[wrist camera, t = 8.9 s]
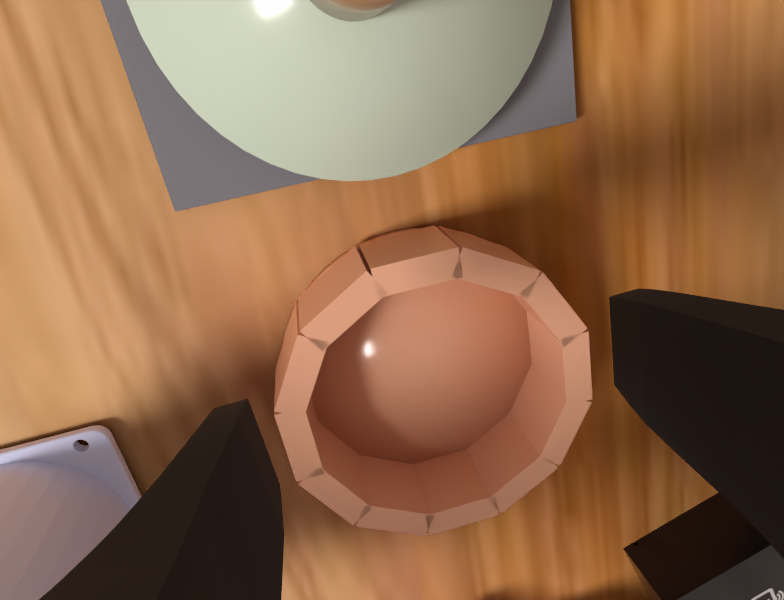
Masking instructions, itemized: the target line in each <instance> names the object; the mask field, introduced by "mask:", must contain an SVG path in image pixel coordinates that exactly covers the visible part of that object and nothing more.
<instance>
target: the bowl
mask: <svg viewBox="0 0 784 600" xmlns="http://www.w3.org/2000/svg"><path fill="white" fill-rule="evenodd" d="M586 329H587V327H586V326H585V324H584V323H583V322H582V321H581V319H580V318H579V317H578V316H577V314H576V313H575V312H574V311H573V309H572V308H571V307H570V305H569V304H568V303H567V302H566V300H565V299H564V298H563V297H562V295H561V294H560V293H559V292H558V290H557V289H556V288H555V287H554V285H553V284H552V283H551V281H550V280H549V279H548V278H547V276H546V275H545V274H544V273H543V272H542V271H540V270H539V269H538V268H536V267H535V266H533V265H532V264H530V263H529V262H527V261H526V260H525V259H523V258H522V257H520V256H519V255H517V254H516V253H515V252H513V251H512V250H510V249H509V248H507V247H506V246H503V245H500V244H496V243H493V242H490V241H487V240H485V239H483V238H480V237H478V236H475V235H472V234H470V233H467V232H462V231H458V230H454V229H448V228H445V227H441V226H438V227H435V226H434V225H433V226H429V227H419V228H409V229H403V230H397V231H392V232H389V233H386V234H383V235H379V236H376V237H374V238H371V239H369V240H367V241H365V242H362V243H358V245H356V246H354V247H353V248H351V249H350V250H348V251H347V252H345V253H343V254H342V255H340V256H339V257H338V258H336V259H335V260H334V261H333V262H331V263H330V264H329V265H328V266H326V267H325V268H324V269H323V270H322V271H321V272H320V273H319V275H318V276H317V277H316V278H315V279H314V280H313V281H312V282H311V283H310V285H309V286H308V287H307V289H306V290H305V291H304V292H303V293H302V294H301V295H300V296H299V297H298V301H296V302H295V305H294V308H293V312H292V314H291V317H290V319H289V322H288V325H287V327H286V330H285V335H284V339H283V344H282V349H281V352H280V356H279V359H278V362H277V366H276V374H275V401H274V416H275V419H276V422H277V425H278V428H279V431H280V434H281V437H282V440H283V444H284V447H285V450H286V453H287V456H288V459H289V462H290V465H291V468H292V471H293V474H294V477H295V480H296V482H298V485H299V486H301V487H302V488H303V489H305V490H306V491H307V492H309V493H310V494H311V495H313V496H314V497H315V498H317V499H318V500H319V501H321V502H322V503H323V504H325V505H326V506H327V507H329V508H330V509H331V510H333V511H334V512H335V513H337V514H338V515H339V516H341V517H342V518H343V519H345V520H346V521H347V522H349V523H350V524H351V525H354V524H356V527H361V528H369V529H376V530H384V531H391V532H399V533H406V534H414V535H421V536H426V534H427V532H428V533H429V536H430V535H434V534H437V533H441V532H444V531H447V530H451V529H454V528H457V527H461V526H464V525H468V524H471V523H474V522H478V521H481V520H484V519H488V518H491V517H495V516H498V515H499V513H498V510H499V511H500V512H501V513H503V512H505V511H506V510H507V509H508V508H510V507H511V506H512V505H513V504H514V503H516V502H517V501H518V500H519V499H521V498H522V497H523V496H524V495H526V494H527V493H528V492H529V491H530V490H532V489H533V488H534V487H535V486H537V485H538V484H539V483H540V482H542V481H543V480H544V479H545V478H546V477H548V476H549V475H550V474H551V473H553V472H554V471H555V470H556V469H558V467H557V466H556V464H557V465H561V463H562V461H563V459H564V457H565V455H566V453H567V451H568V449H569V447H570V445H571V443H572V441H573V439H574V437H575V435H576V433H577V431H578V429H579V427H580V425H581V423H582V421H583V419H584V417H585V415H586V413H587V411H588V409H589V407H590V405H591V403H592V402H591V401H590V400H591V399H592V381H591V363H590V346H589V331H588V330H586Z"/></svg>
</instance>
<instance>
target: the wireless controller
mask: <svg viewBox="0 0 784 600" xmlns="http://www.w3.org/2000/svg"><path fill="white" fill-rule="evenodd" d="M635 542H636V544H638V545H635V543H632V544H630V545H628V546H627V547H625V548H623V549H624V551H625V553H626V555H627V556H628V558H629V560H630V562H631V564H632V566H633V567H634V569H635V571H636V573H637V575H638V577H639V579H640V580H641V582H642V584H643V586H644V588H645V590H646V591H647V593H648V595H649V597H650V599H651V600H784V559H783V558H782V557H781V556H780V554H779V553H778V552H777V551H776V550H775V549H774V548H773V547H772V545H771V544H770V543H769V542H768V541H767V540H766V539H765V538H764V537H763V535H762V534H761V533H760V532H759V531H758V530H757V529H756V528H755V527H754V526H753V525H752V524H751V523H750V522H749V521H748V520H747V519H746V518H745V517H744V516H743V515H742V514H741V513H740V512H739V511H738V510H737V509H736V508H735V507H734V506H733V505H732V504H731V503H730V502H729V501H728V500H727V499H726V498H725V497H724V496H722V495H721V494H720V493H717V494H716V495H714V496H712V497H710V498H709V499H707V500H705V501H704V502H702V503H700V504H698V505H697V506H695V507H693V508H692V509H690V510H688V511H687V512H685V513H683V514H681V515H680V516H678V517H676V518H675V519H673V520H671V521H669V522H668V523H666V524H664V525H663V526H661V527H659V528H657V529H656V530H654V531H652V532H651V533H649V534H647V535H646V536H644V537H642V538H640V539H639V540H637V541H635Z"/></svg>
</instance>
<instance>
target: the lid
mask: <svg viewBox="0 0 784 600" xmlns="http://www.w3.org/2000/svg"><path fill="white" fill-rule="evenodd" d="M126 1H127V4H128V6H129V8H130V11H131V13H132V15H133V18H134V20H135V23H136V25H137V27H138V30H139V32H140V34H141V36H142V38H143V40H144V42H145V43H146V45H147V47H148V49H149V51H150V52H151V54H152V56H153V58H154V60H155V61H156V63H157V65H158V66H159V68H160V69H161V70H162V72H163V73H164V75H165V76H166V77H167V79H168V80H169V81H170V83H171V84H172V86H173V87H174V88H175V90H176V91H177V92H178V93H179V94H180V96H181V97H182V98H183V99H184V100H185V101H186V102H187V103H188V104H189V105H190V107H191V108H192V109H193V110H194V111H195V112H196V113H197V114H198V115H199V116H200V117H201V118H202V119H203V120H205V121H206V122H207V123H208V124H209V125H210V126H211V127H213V128H214V129H215V130H216V131H217V132H218V133H220V134H221V135H222V136H224V137H225V138H227V139H228V140H230V141H231V142H232V143H234V144H235V145H237V146H238V147H240V148H241V149H243V150H244V151H246V152H248V153H250V154H252V155H254V156H256V157H258V158H260V159H262V160H264V161H265V162H267V163H269V164H272V165H275V166H277V167H280V168H283V169H286V170H288V171H291V172H294V173H297V174H302V175H306V176H311V177H315V178H320V179H329V180H340V181H360V180H375V179H380V178H386V177H391V176H397V175H400V174H403V173H406V172H409V171H412V170H415V169H419V168H421V167H423V166H425V165H428V164H430V163H432V162H434V161H436V160H438V159H440V158H442V157H444V156H446V155H447V154H449V153H450V152H452V151H453V150H455V149H456V148H458V147H460V146H461V145H463V144H464V143H465V142H467V141H468V140H469V139H470V138H471V137H473V136H474V135H475V134H476V133H477V132H478V131H480V130H481V129H482V128H483V127H484V126H485V125H486V124H487V123H488V122H489V121H490V120H491V119H492V118H493V117H494V116H495V114H496V113H497V112H498V111H499V110H500V109H501V108H502V107H503V105H504V104H505V103H506V101H507V100H508V99H509V97H510V96H511V94H512V93H513V92H514V90H515V89H516V88H517V86H518V85H519V83H520V81H521V79H522V77H523V76H524V74H525V72H526V70H527V69H528V67H529V65H530V63H531V62H532V59H533V57H534V55H535V52H536V50H537V47H538V45H539V43H540V40H541V38H542V36H543V33H544V29H545V26H546V23H547V19H548V16H549V13H550V10H551V6H552V1H553V0H126Z"/></svg>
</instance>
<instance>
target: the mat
mask: <svg viewBox="0 0 784 600" xmlns="http://www.w3.org/2000/svg"><path fill="white" fill-rule="evenodd" d="M101 3H102V6H103V9H104V11H105V14H106V17H107V20H108V23H109V26H110V28H111V31H112V34H113V37H114V40H115V42H116V45H117V48H118V51H119V54H120V57H121V59H122V62H123V65H124V68H125V71H126V74H127V76H128V79H129V82H130V85H131V88H132V91H133V93H134V96H135V99H136V102H137V105H138V108H139V110H140V113H141V116H142V119H143V122H144V125H145V127H146V130H147V133H148V136H149V139H150V142H151V144H152V147H153V150H154V153H155V156H156V158H157V161H158V164H159V167H160V170H161V173H162V175H163V178H164V181H165V184H166V187H167V190H168V192H169V195H170V198H171V201H172V204H173V207H174V209H175V211H180V210H184V209H189V208H193V207H198V206H202V205H207V204H211V203H215V202H220V201H224V200H229V199H233V198H238V197H242V196H246V195H251V194H255V193H260V192H264V191H269V190H273V189H277V188H282V187H286V186H291V185H295V184H300V183H304V182H309V181H313V180H317V179H320V178H315V177H311V176H306V175H302V174H297V173H294V172H291V171H288V170H286V169H283V168H280V167H277V166H275V165H272V164H269V163H267V162H265V161H264V160H262V159H260V158H258V157H256V156H254V155H252V154H250V153H248V152H246V151H244V150H243V149H241V148H240V147H238V146H237V145H235V144H234V143H232V142H231V141H230V140H228V139H227V138H225V137H224V136H222V135H221V134H220V133H218V132H217V131H216V130H215V129H214V128H213V127H211V126H210V125H209V124H208V123H207V122H206V121H205V120H203V119H202V118H201V117H200V116H199V115H198V114H197V113H196V112H195V111H194V110H193V109H192V108H191V107H190V105H189V104H188V103H187V102H186V101H185V100H184V99H183V98H182V97H181V96H180V94H179V93H178V92H177V91H176V90H175V88H174V87H173V86H172V84H171V83H170V81H169V80H168V79H167V77H166V76H165V75H164V73H163V72H162V70H161V69H160V68H159V66H158V65H157V63H156V61H155V60H154V58H153V56H152V54H151V52H150V51H149V49H148V47H147V45H146V43H145V42H144V40H143V38H142V36H141V34H140V32H139V30H138V27H137V25H136V23H135V20H134V18H133V15H132V13H131V11H130V8H129V6H128V4H127V1H126V0H101ZM575 121H577V118H576V100H575V82H574V64H573V46H572V29H571V11H570V0H553V1H552V6H551V10H550V13H549V16H548V19H547V23H546V26H545V29H544V33H543V36H542V38H541V40H540V43H539V45H538V47H537V50H536V52H535V55H534V57H533V59H532V62H531V63H530V65H529V67H528V69H527V70H526V72H525V74H524V76H523V77H522V79H521V81H520V83H519V85H518V86H517V88H516V89H515V90H514V92H513V93H512V94H511V96H510V97H509V99H508V100H507V101H506V103H505V104H504V105H503V107H502V108H501V109H500V110H499V111H498V112H497V113H496V114H495V116H494V117H493V118H492V119H491V120H490V121H489V122H488V123H487V124H486V125H485V126H484V127H483V128H482V129H481V130H480V131H478V132H477V133H476V134H475V135H474V136H473V137H471V138H470V139H469V140H468V141H467V142H465V143H464V144H463V145H461V146H460V147H464V146H468V145H473V144H477V143H482V142H486V141H490V140H495V139H499V138H504V137H508V136H513V135H517V134H521V133H526V132H530V131H535V130H539V129H544V128H548V127H553V126H557V125H561V124H566V123H570V122H575ZM458 148H459V147H458Z"/></svg>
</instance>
